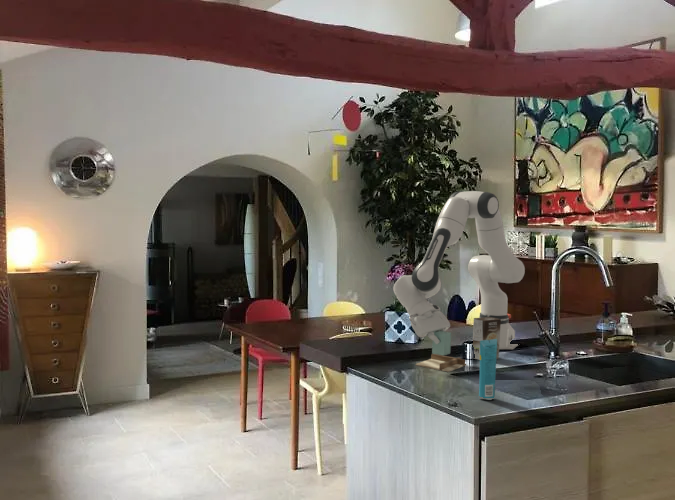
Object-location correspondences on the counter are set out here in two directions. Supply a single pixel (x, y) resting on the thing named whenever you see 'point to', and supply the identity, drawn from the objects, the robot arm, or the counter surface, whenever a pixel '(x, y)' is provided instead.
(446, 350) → the block
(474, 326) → the coffee box
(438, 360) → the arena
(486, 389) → the tube
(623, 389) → the counter surface
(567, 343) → the counter surface
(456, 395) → the counter surface
